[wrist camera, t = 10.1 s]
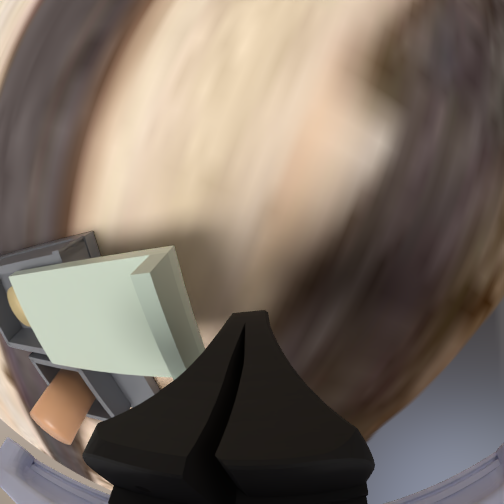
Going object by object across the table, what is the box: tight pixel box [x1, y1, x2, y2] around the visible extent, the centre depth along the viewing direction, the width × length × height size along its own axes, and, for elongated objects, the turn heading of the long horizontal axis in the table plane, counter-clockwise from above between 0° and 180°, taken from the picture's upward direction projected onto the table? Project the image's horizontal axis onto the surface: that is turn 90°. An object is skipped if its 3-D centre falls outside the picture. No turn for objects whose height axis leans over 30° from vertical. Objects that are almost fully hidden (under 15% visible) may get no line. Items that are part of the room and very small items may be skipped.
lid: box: [9, 245, 205, 380], centre depth 11 cm, size 7×12×3 cm, turn 99°
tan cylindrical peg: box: [30, 369, 96, 445], centre depth 16 cm, size 4×4×7 cm
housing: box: [0, 231, 160, 421], centre depth 17 cm, size 16×14×4 cm
